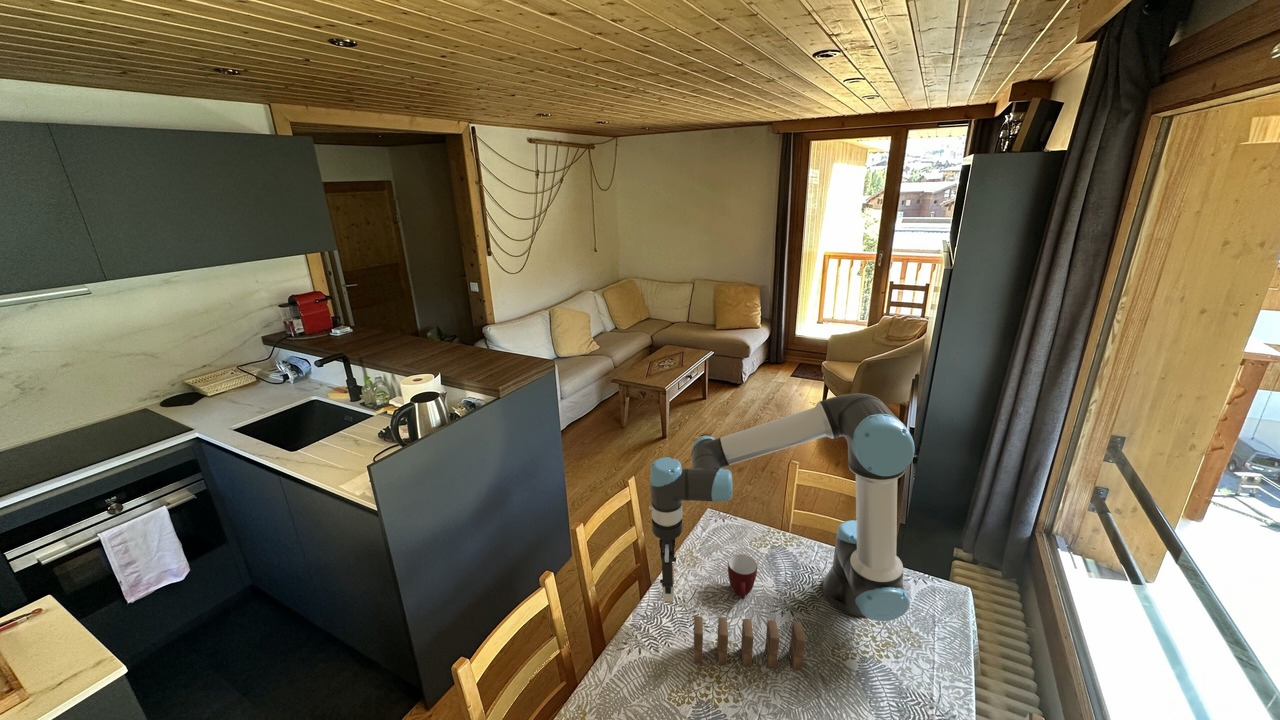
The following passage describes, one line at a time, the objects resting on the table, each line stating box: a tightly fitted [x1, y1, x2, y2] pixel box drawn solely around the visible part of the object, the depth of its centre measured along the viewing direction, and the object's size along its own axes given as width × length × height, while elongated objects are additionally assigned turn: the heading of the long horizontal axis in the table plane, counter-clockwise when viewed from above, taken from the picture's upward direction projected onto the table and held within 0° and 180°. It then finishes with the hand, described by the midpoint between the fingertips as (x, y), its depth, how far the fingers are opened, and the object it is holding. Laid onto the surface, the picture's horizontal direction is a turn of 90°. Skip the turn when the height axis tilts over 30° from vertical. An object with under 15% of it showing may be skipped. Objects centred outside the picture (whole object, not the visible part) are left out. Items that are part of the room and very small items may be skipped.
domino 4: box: [740, 618, 754, 668], centre depth 121 cm, size 2×5×10 cm, turn 175°
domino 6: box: [788, 621, 806, 671], centre depth 120 cm, size 2×5×10 cm, turn 175°
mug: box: [727, 553, 758, 600], centre depth 140 cm, size 11×8×10 cm
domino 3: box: [716, 617, 729, 667], centre depth 121 cm, size 2×5×10 cm, turn 175°
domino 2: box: [693, 615, 704, 665], centre depth 122 cm, size 2×5×10 cm, turn 175°
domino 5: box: [764, 619, 780, 670], centre depth 120 cm, size 2×5×10 cm, turn 175°
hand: (668, 591), depth 129 cm, fingers closed on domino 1, 5 cm apart
